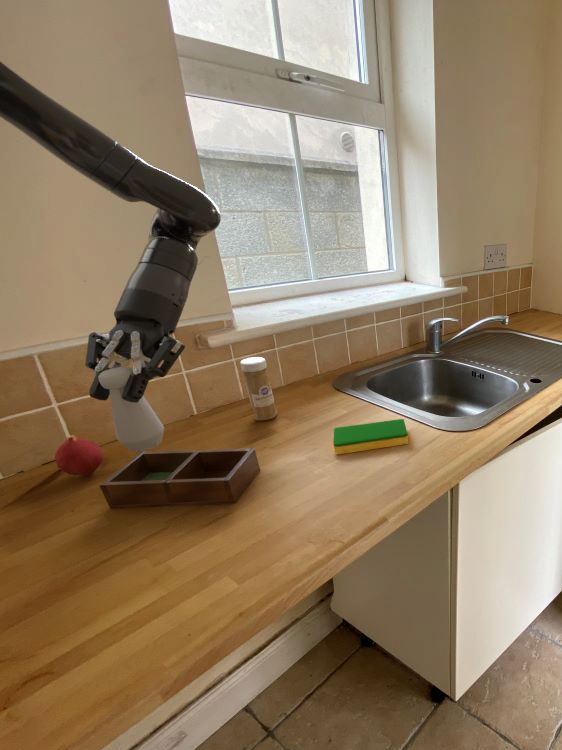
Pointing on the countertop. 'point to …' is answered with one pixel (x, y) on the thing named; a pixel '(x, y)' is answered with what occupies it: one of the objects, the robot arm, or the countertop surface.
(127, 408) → the salt shaker
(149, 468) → the divided wooden tray
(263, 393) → the sprinkles bottle
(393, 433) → the dish sponge
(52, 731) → the countertop surface
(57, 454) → the onion
